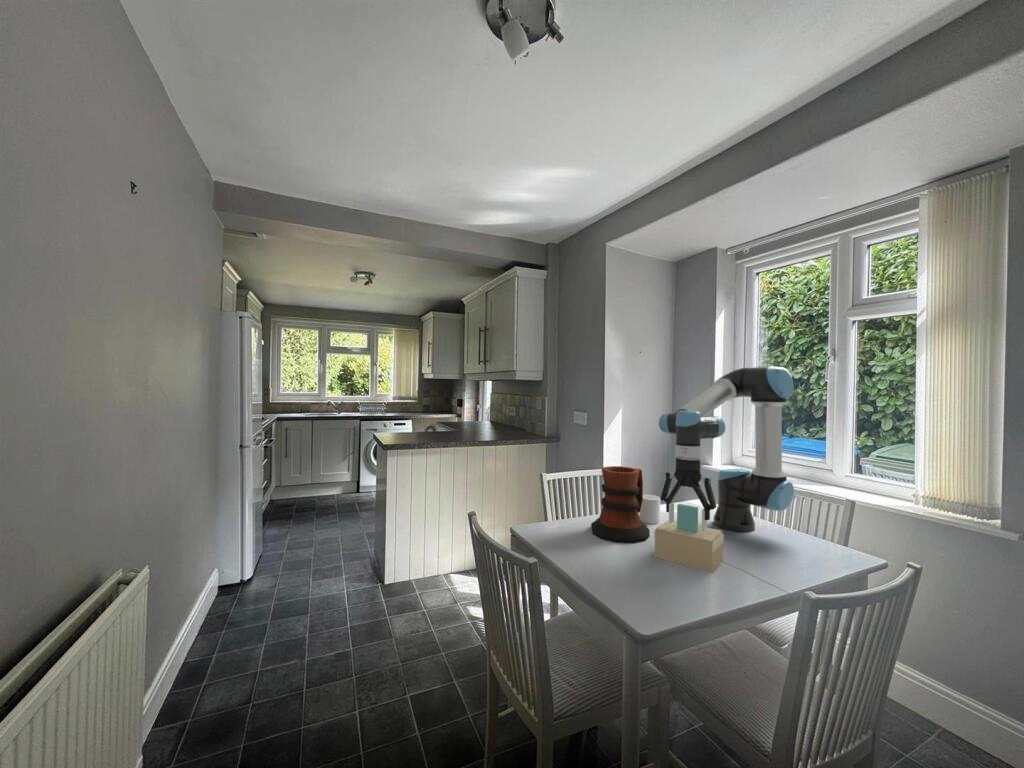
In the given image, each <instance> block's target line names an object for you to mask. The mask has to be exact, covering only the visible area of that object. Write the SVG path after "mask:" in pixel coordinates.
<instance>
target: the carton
mask: <svg viewBox="0 0 1024 768" xmlns="http://www.w3.org/2000/svg"><path fill="white" fill-rule="evenodd" d="M662 524H666V525H670V526H675V527H677V520H674V522H673V523H672V524H670V523H669V519H668V520H666V521H665V522H663V523H662ZM698 532H702V533H707V534H711V535H716V536H717V538H716V539H715V540H714V541H713V542H712V543H711V542H706V541H702V540H698V539H693V538H689V537H685V536H681V535H676V534H672V533H668V532H663V531H659V530H656V529H654V531H653V534H654V536H653V538H654V558H657V559H661V560H665V561H669V562H671V563H675V564H679V565H682V566H687V567H690V568H693V569H698V570H701V571H704V572H708V573H712V574H713V573H714V571H716V569H717V568H718V567H719V566H720V565H721V563H723V561H724V541H725V534H724V533H723V532H722V530H720V529H715V528H712V527H707V529H706V530H705V531H702V525H698Z"/></svg>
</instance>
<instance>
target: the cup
mask: <svg viewBox="0 0 1024 768" xmlns="http://www.w3.org/2000/svg"><path fill="white" fill-rule="evenodd" d="M660 498H661V496H658V495H654V494H643V501H642V505H641V510H640V512H639V513H638V514H639V517H640V520H641V521H642V523H643V524H645V525H647V524H648V525H657V524H659V523H660V521H661V499H660Z"/></svg>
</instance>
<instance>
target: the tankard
mask: <svg viewBox="0 0 1024 768" xmlns="http://www.w3.org/2000/svg"><path fill="white" fill-rule="evenodd" d="M601 473H602V479H603V484H601V491H602V492H603V493H604V497H602V498H601V506H602V508H601V511H600V513H599V514H600V515H599V517H598V518H596V520H594V521H593V522H591V524H590V530H591V532H592V535H593V536H595V537H597V538H598V539H601V540H602V541H606V542H612V543H615V544H616V543H617V544H636V543H643V542H646V541H647V540H648V539H649V538H650V536H651V535H650V530H651V529H649V527H648V526H647V524H646V523H643V522H642V521H641V520H640V517H639V512H640V510H641V505H642V501H643V495H644V481H643V470H642V469H641V468H638V467H637V468H635V467H629V466H621V465H620V466H619V465H618V466H617V465H616V466H615V465H613V466H612V465H610V466H604V467H601Z"/></svg>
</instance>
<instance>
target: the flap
mask: <svg viewBox="0 0 1024 768" xmlns="http://www.w3.org/2000/svg"><path fill="white" fill-rule="evenodd" d="M676 507H677V508H676V521H677V527H675V526H670V525H666V524H663V523H662V524H660V525H659V526H657V527H656V529H655V530H659V531H663V532H668V533H672V534H676V535H681V536H685V537H689V538H693V539H698V540H702V541H706V542H711V543H712V542H713V541H714V540H715V539H716V538H717V536H716V535H711V534H707V533H702V532H698V526H699V506H693V505H687V504H682V503H677V505H676Z"/></svg>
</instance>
